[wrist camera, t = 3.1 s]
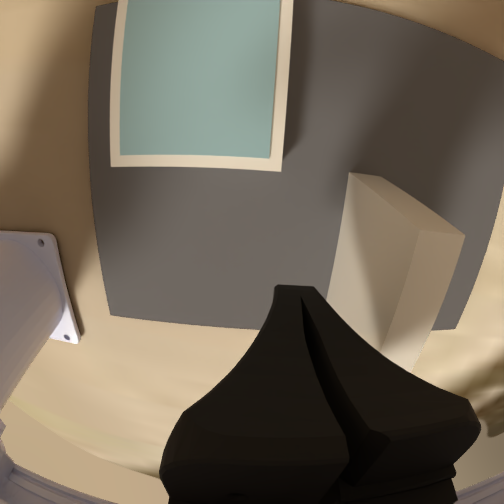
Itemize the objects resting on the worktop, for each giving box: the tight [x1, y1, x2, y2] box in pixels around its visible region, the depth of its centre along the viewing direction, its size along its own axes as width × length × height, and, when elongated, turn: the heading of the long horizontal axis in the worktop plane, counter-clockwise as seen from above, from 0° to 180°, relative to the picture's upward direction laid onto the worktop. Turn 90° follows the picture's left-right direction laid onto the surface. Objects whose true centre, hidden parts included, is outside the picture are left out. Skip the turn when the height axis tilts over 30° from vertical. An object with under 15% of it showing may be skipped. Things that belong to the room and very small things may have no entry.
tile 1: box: [110, 0, 293, 172], centre depth 11 cm, size 7×8×2 cm
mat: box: [88, 0, 504, 330], centre depth 14 cm, size 22×17×1 cm
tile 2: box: [326, 172, 465, 373], centre depth 12 cm, size 2×8×7 cm, turn 176°
